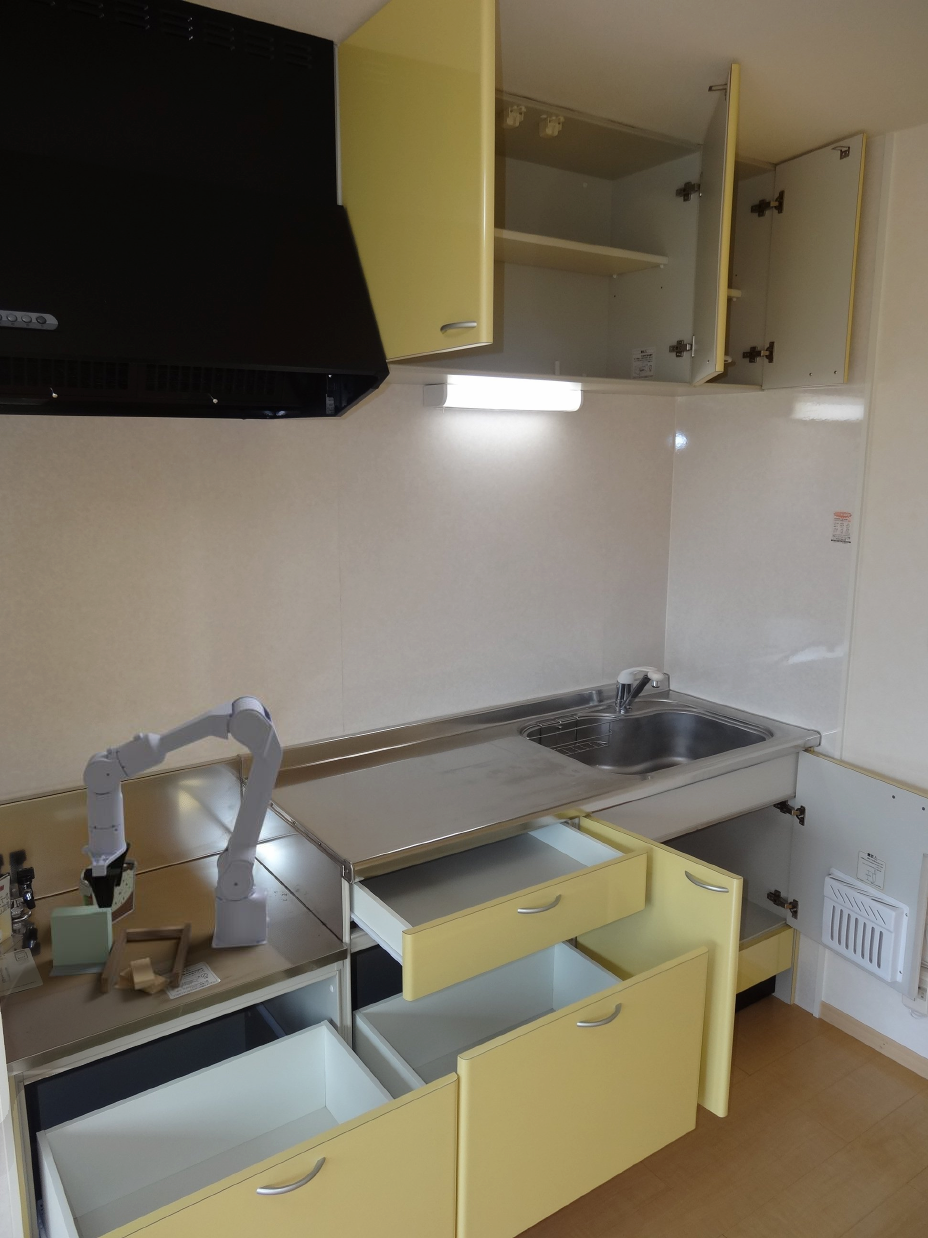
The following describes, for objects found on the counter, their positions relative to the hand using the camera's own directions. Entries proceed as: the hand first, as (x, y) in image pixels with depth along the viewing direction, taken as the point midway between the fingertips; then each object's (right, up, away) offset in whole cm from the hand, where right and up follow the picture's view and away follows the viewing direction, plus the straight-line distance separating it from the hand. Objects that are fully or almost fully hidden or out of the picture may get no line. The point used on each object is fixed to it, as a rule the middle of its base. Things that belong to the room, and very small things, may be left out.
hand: (109, 896), depth 155 cm
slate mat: (-4, -11, -2) cm, 11 cm away
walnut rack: (+8, -11, -2) cm, 14 cm away
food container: (-6, -8, +13) cm, 16 cm away
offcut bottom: (+9, -13, -8) cm, 18 cm away
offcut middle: (+9, -12, -8) cm, 17 cm away
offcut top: (+9, -11, -9) cm, 16 cm away
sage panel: (-4, -10, -2) cm, 11 cm away
